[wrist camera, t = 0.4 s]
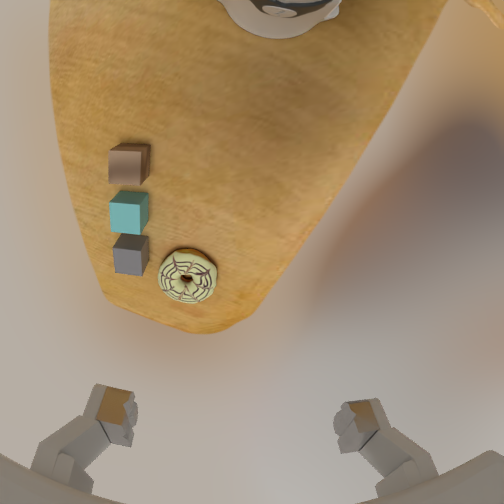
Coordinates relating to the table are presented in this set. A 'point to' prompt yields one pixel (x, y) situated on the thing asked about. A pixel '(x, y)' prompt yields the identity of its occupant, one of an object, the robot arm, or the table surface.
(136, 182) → the walnut cube
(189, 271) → the decorated donut
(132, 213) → the teal cube
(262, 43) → the table surface
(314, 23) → the robot arm
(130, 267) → the charcoal cube
